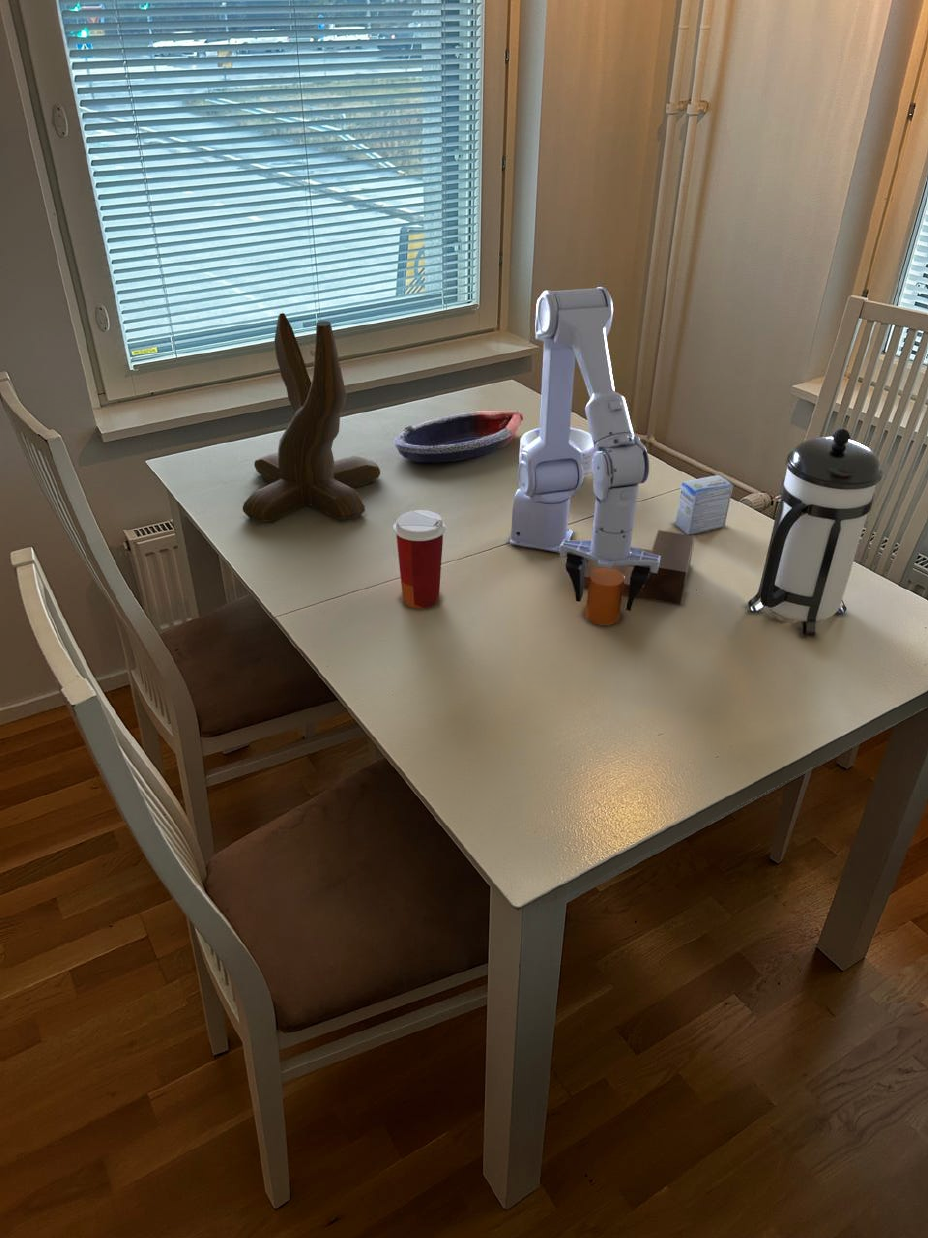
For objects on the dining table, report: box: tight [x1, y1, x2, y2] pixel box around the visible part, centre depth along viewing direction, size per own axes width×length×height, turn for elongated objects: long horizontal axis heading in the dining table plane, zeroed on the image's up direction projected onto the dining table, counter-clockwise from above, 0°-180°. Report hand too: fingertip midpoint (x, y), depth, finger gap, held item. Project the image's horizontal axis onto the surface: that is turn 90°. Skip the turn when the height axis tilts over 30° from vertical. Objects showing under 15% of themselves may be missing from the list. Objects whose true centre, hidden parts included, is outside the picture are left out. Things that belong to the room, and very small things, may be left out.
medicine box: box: [674, 474, 734, 535], centre depth 162 cm, size 8×4×9 cm, turn 113°
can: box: [585, 568, 624, 626], centre depth 139 cm, size 5×5×7 cm
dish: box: [394, 410, 524, 463], centre depth 190 cm, size 16×31×5 cm, turn 121°
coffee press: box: [747, 428, 884, 638], centre depth 133 cm, size 17×16×30 cm
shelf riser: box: [584, 529, 696, 605], centre depth 149 cm, size 16×12×6 cm
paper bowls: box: [518, 427, 595, 479], centre depth 178 cm, size 15×15×8 cm
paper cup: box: [392, 509, 446, 610], centre depth 140 cm, size 8×8×14 cm
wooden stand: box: [242, 312, 381, 523], centre depth 164 cm, size 29×29×35 cm
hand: (604, 602), depth 140 cm, fingers open, 7 cm apart
